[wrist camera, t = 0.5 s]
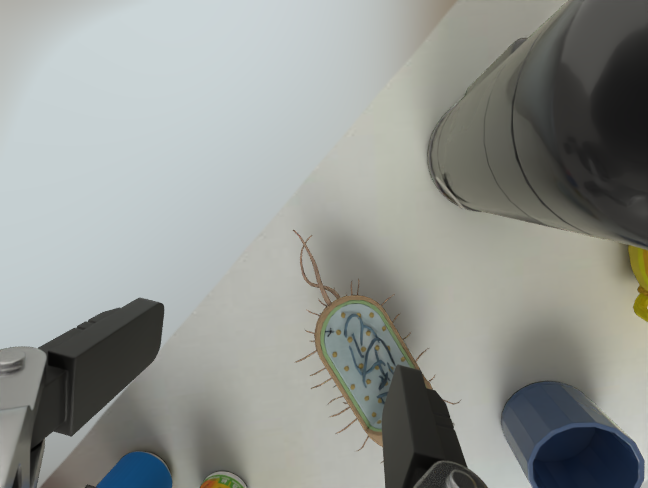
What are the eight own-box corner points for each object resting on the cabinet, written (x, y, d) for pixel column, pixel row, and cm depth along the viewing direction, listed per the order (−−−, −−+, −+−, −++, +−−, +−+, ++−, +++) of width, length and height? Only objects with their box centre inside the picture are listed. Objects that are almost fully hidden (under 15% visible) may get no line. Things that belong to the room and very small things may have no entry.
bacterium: (327, 209, 33) (371, 182, 23) (432, 386, 34) (513, 429, 25) (228, 268, 30) (231, 265, 20) (347, 460, 31) (404, 541, 22)
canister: (519, 369, 31) (551, 408, 25) (611, 397, 30) (664, 443, 25) (488, 444, 32) (512, 495, 27) (574, 472, 32) (617, 531, 26)
